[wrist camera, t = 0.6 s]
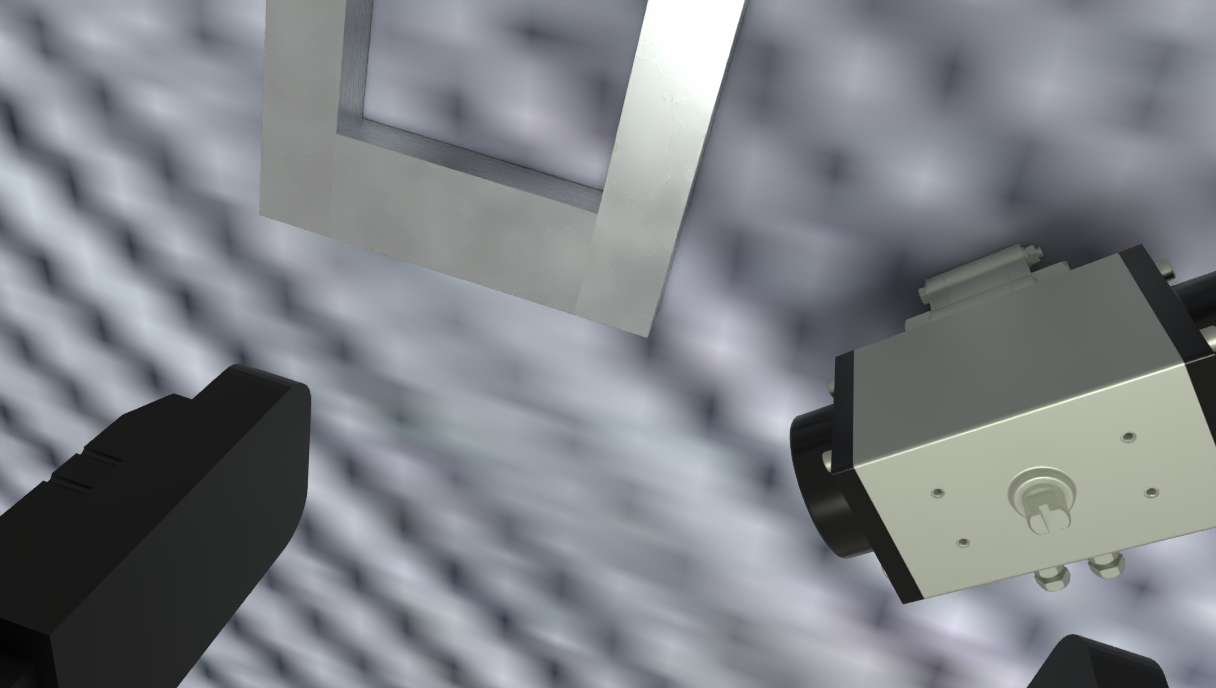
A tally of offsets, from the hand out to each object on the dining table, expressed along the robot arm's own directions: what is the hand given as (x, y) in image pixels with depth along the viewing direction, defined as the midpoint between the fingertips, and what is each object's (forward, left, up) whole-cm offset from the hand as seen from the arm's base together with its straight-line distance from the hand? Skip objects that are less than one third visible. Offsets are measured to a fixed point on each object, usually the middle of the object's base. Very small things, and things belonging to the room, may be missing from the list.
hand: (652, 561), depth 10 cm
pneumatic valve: (+6, +9, -24) cm, 26 cm away
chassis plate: (+2, -9, -24) cm, 26 cm away
